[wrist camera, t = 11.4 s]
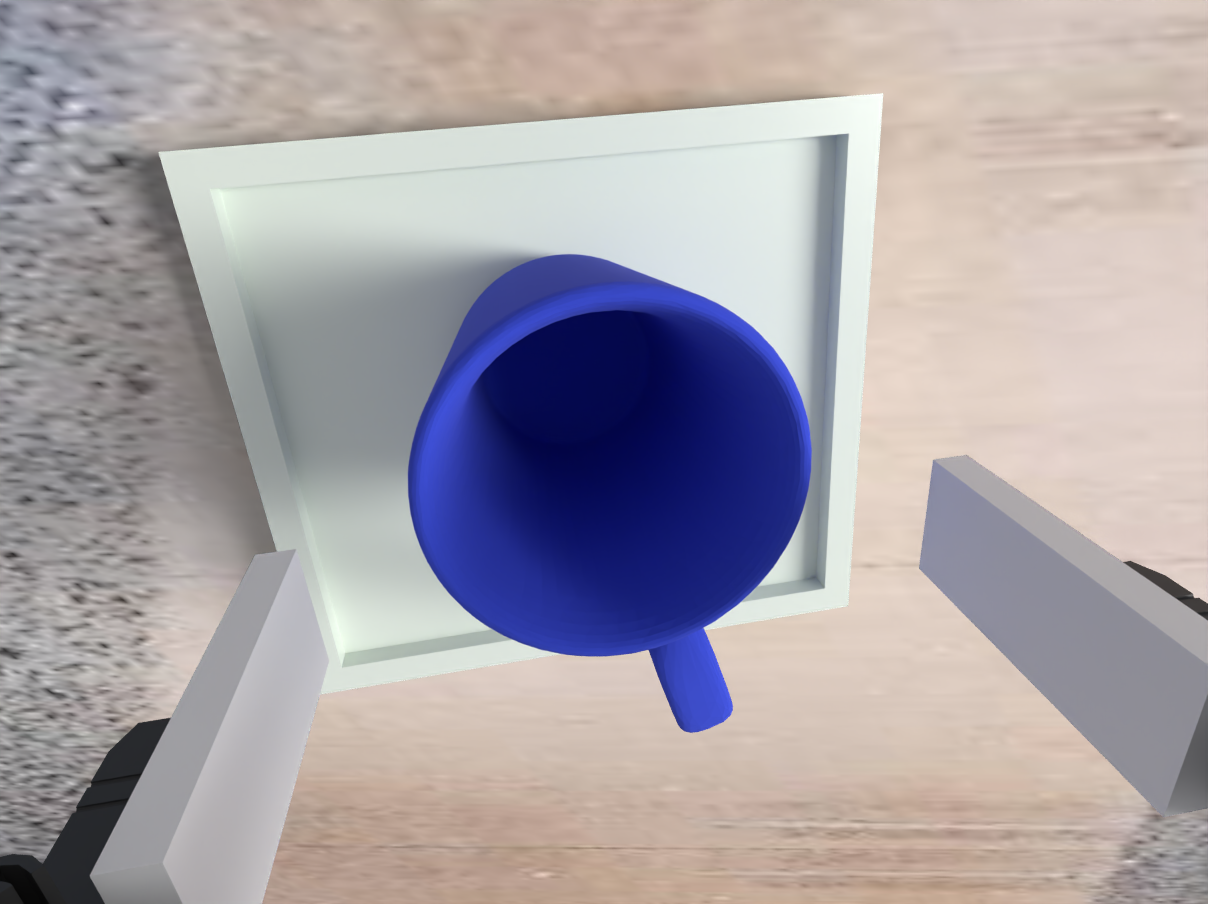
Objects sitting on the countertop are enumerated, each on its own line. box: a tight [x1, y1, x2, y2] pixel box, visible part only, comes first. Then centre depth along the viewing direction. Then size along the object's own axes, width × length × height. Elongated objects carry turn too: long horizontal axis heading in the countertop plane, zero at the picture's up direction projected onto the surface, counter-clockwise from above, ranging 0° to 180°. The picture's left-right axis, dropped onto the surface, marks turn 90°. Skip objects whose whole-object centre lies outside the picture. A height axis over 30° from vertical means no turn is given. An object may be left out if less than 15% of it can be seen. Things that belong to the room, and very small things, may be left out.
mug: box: [408, 254, 812, 733], centre depth 20 cm, size 8×12×10 cm
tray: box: [158, 93, 883, 694], centre depth 24 cm, size 18×20×2 cm
